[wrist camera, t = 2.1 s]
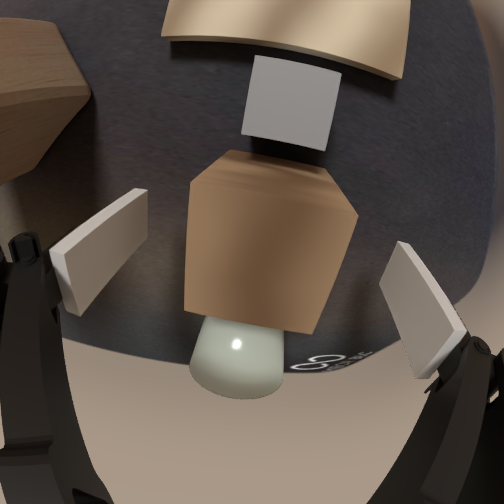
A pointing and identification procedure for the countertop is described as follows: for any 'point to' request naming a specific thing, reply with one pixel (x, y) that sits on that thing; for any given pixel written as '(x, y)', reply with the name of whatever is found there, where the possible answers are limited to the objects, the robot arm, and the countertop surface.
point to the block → (34, 92)
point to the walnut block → (264, 241)
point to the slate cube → (290, 102)
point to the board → (302, 28)
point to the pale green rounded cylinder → (238, 359)
